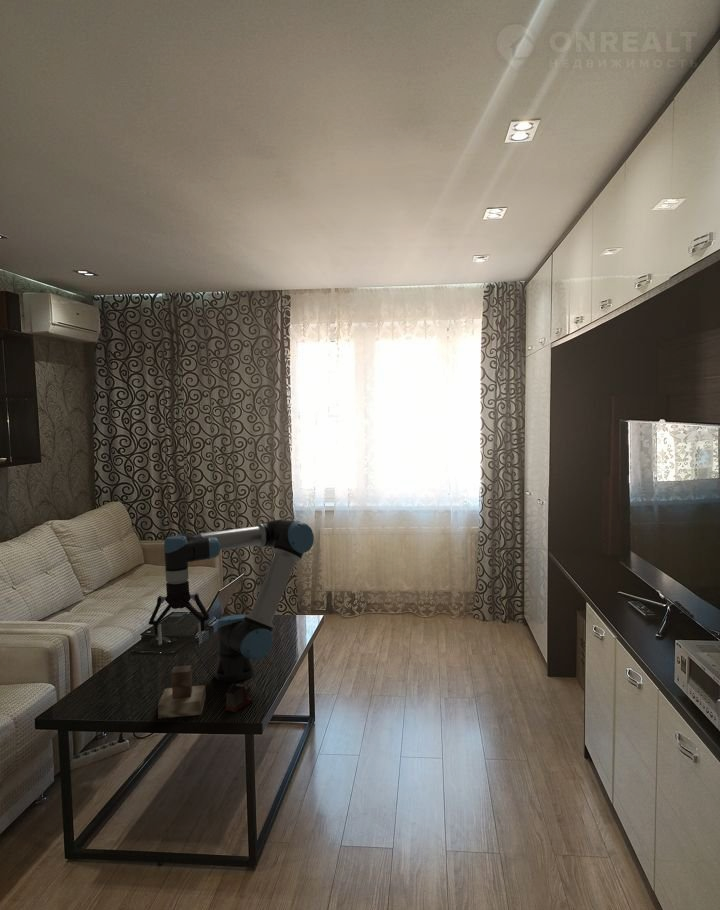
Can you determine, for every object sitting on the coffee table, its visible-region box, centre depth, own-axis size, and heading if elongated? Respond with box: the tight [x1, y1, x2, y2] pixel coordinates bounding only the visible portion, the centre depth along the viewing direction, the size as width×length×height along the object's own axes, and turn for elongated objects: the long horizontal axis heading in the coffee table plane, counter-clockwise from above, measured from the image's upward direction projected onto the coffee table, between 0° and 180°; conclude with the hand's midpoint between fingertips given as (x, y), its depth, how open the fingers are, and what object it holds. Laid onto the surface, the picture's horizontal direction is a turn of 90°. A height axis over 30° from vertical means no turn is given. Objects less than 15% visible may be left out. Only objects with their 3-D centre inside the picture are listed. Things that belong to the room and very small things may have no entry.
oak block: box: [157, 684, 207, 719], centre depth 222 cm, size 14×14×5 cm
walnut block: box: [171, 664, 193, 699], centre depth 222 cm, size 6×6×9 cm
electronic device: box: [225, 683, 254, 713], centre depth 221 cm, size 4×10×8 cm, turn 149°
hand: (180, 642), depth 222 cm, fingers open, 13 cm apart
